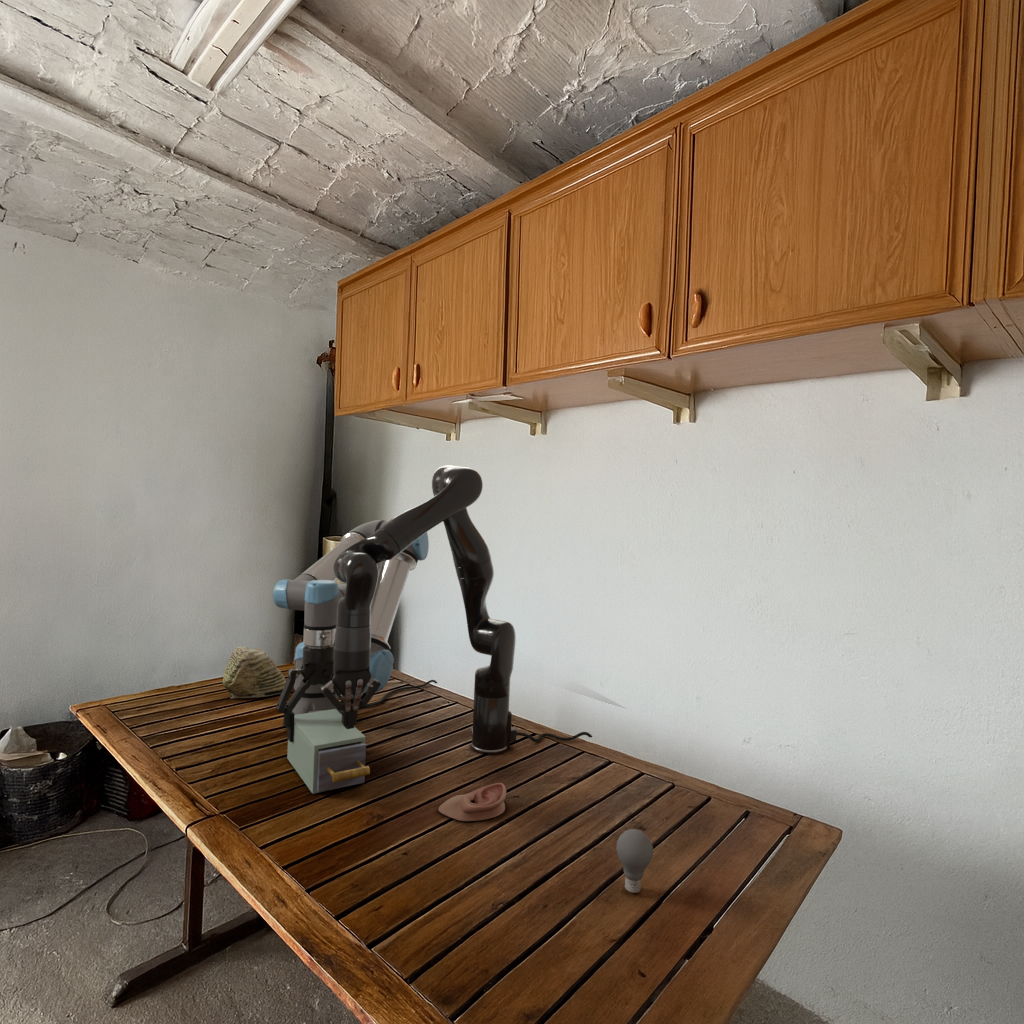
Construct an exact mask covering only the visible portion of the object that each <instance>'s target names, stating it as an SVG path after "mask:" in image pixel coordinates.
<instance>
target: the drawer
mask: <svg viewBox="0 0 1024 1024" xmlns="http://www.w3.org/2000/svg"><path fill="white" fill-rule="evenodd" d="M366 753H367V744H366V742H365V743H361V744H358V742H356V743H350V744H345V745H339V746H334V747H328V748H323V749H318V773H317V791H318V793H317V794H319V793H323V792H328V791H333V790H336V789H342V788H346V787H350V786H354V785H360V784H364V783H365V782H366V781H365V780H366V776H369V775H371V769H370V768H371V767H370V766H369V765H366V757H367V755H366Z"/></svg>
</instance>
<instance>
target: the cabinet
mask: <svg viewBox="0 0 1024 1024" xmlns="http://www.w3.org/2000/svg"><path fill="white" fill-rule="evenodd" d="M356 742H358V744H361V743H365V744H366V735H365V734H364V733H362V732H361V731H360V730H359V729H358V728H357V727H356V726H354V728H352V729H346V728H345V727H344V726H343V725H342V714H340V713H339V712H338V711H337V710H336V709H331V710H324V711H318V712H311V713H304V714H298V715H295V716H294V741H293V742H290V741H289V740H288V739H287V752H286V753H287V755H286V758H287V760H288V761H289V763H290V764H291V766H292V767H293V769H294V770H295V772H296V773H297V775H298V777H300V778H301V780H302V781H303V783H304V784H305V785H306V787H307V788H308V790H309V791H310V793H311V794H312V795H315V794H319V793H318V791H317V773H318V749H323V748H328V747H334V746H339V745H345V744H350V743H356Z"/></svg>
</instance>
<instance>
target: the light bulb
mask: <svg viewBox="0 0 1024 1024" xmlns="http://www.w3.org/2000/svg"><path fill="white" fill-rule="evenodd" d="M615 849H616V854H617V857H618V859H619V861H620V863H621V865H622V867H623V873H624V874H623V875H624V876H625V878H624V888H625V890H627V891H628V892H630V893H634V894H635V893H639V892H640V891H641V889H642V887H641V886H642V879H643V877H644V875H645V871H646V868H647V867H648V866H649V864H650V863H651V861H652V859H653V855H654V847H653V843H652V841H651V838H649V836H648V835H647V834H646V833H645V832H643V831H642V830H641V829H636V828H629V829H627V830H625V831H623V832H622V833H621V834H620V835H619V837H618V839H617V841H616V847H615Z"/></svg>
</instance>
